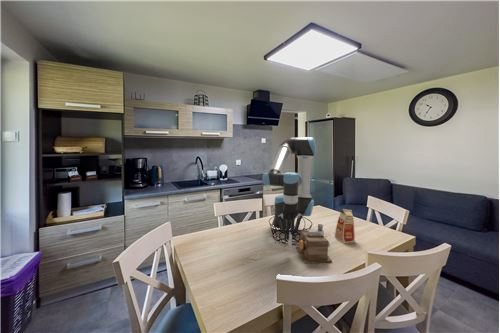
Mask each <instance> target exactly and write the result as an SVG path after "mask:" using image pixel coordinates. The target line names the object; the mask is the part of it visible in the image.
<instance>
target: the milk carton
mask: <svg viewBox="0 0 500 333" xmlns="http://www.w3.org/2000/svg"><path fill="white" fill-rule="evenodd" d="M352 211H353V210H352V209H346V208H342V211H340V212H339V216H338V219H337V224H336V227H335V232H334V238H335V239H337V241H338V242H339V241H340V243H342V244H349V242H350V243H354V242H356V240H355V239H356V232H355V221H354V215H353V212H352Z"/></svg>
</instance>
